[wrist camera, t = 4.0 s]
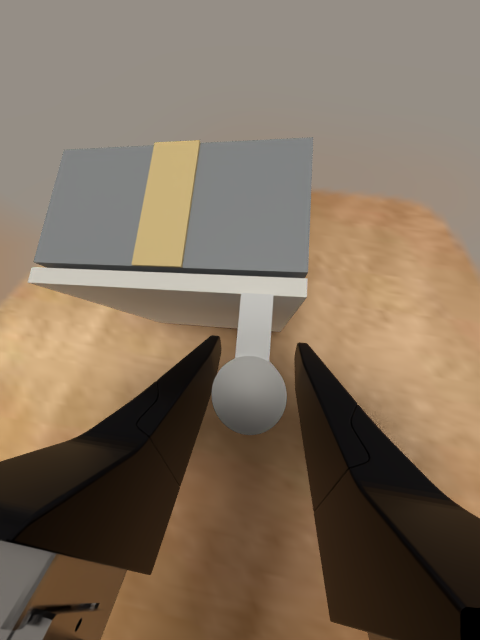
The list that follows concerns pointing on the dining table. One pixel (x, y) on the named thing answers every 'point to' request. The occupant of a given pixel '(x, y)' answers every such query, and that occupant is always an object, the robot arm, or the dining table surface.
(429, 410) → the dining table surface
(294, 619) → the dining table surface
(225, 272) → the carton
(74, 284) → the white square panel
